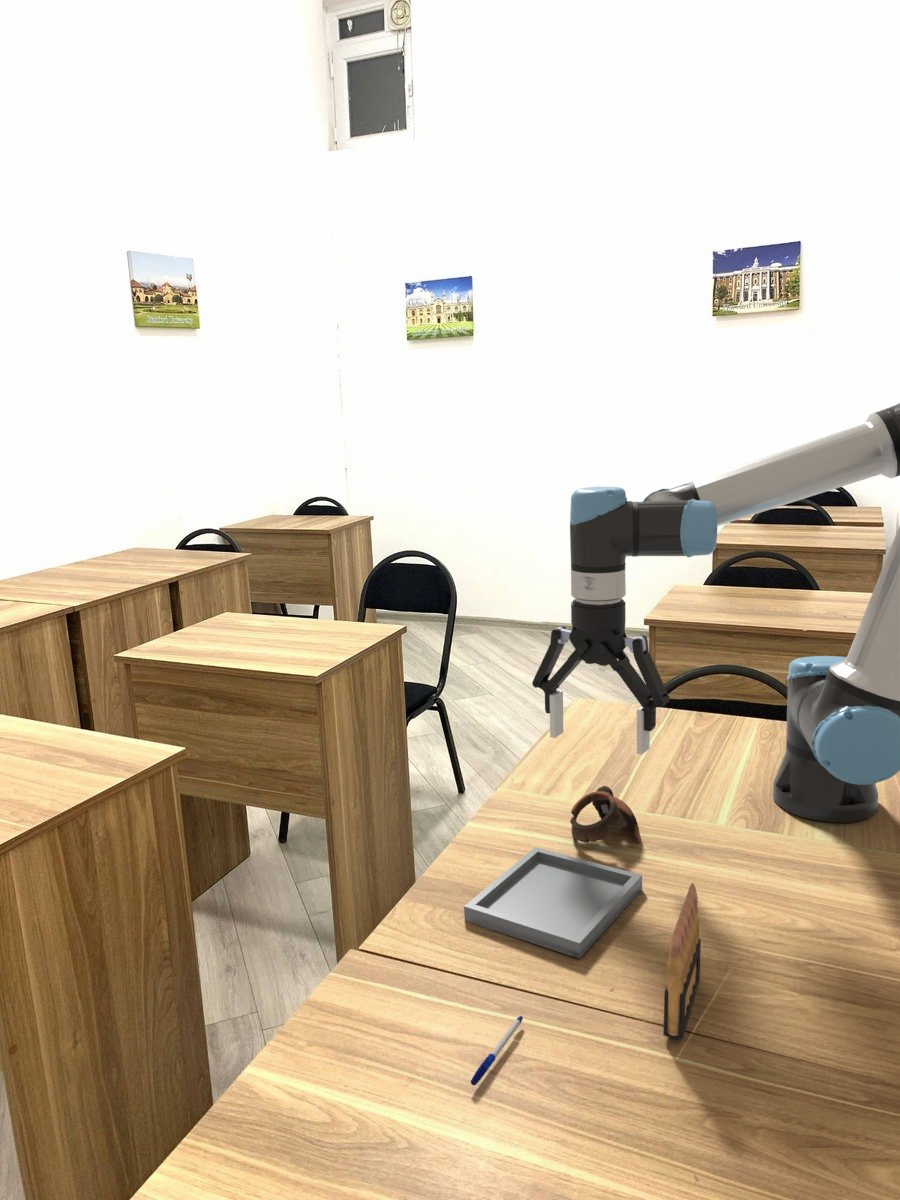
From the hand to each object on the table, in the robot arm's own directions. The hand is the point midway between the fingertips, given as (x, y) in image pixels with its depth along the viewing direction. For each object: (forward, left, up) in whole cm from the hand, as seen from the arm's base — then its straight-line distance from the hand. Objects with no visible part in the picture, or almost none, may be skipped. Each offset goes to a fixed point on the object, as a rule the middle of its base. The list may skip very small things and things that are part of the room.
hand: (598, 743), depth 133 cm
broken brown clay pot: (-1, 0, -15) cm, 15 cm away
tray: (-3, +20, -15) cm, 25 cm away
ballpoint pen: (-11, +47, -15) cm, 50 cm away
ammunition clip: (-24, +31, -15) cm, 42 cm away
